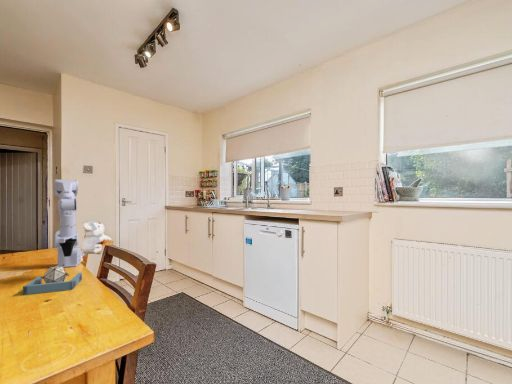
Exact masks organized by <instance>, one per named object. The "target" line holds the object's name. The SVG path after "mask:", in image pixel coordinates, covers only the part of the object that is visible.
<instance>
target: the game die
mask: <svg viewBox="0 0 512 384" xmlns="http://www.w3.org/2000/svg"><path fill="white" fill-rule="evenodd" d="M63 266H64V265H63ZM63 266H59V267H55V266H51V267H50V266H47V270H46V272H45V273H44V274H43V276H42V277H40V276H39V277H40V278H42V280H44V284H45V283H55V282H65V281H66V278H67V277H69V276H70V274H69V273H68V272H67V271H66V269H65V267H63Z"/></svg>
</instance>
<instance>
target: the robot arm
mask: <svg viewBox="0 0 512 384" xmlns="http://www.w3.org/2000/svg"><path fill="white" fill-rule="evenodd" d="M53 183H54V184H53V185H54V195H55V197H57V198H59V200H58V202H57V203H58V208H57V209H58V215H59V229H58V230H57V231H56V232H54V237H53V239H54V240H53V241H54V243H53V245H54V249H56V250H57V264H56V265H55V266H54V267H59V266H63V265H64V266H63V267H64V268H68V267H69V268H70V267H71V268H72V267H78V265H80V264H81V263H82V250H81V247H79V246H78V245H79V235H80V234H79V232H78V231H77V229H76V228H77V227H76V223H77V222H76V221H77V219H76V215H77V214H76V213H77V209H78V200H77V198H76V197H77V195H78V190H79V180H77V179H58V178H56V179H54V182H53ZM77 246H78V247H77Z"/></svg>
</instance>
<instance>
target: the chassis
mask: <svg viewBox="0 0 512 384" xmlns="http://www.w3.org/2000/svg"><path fill="white" fill-rule="evenodd" d="M40 277H43V276H37V277H35V278H34V279H33V280H31V281H30V282H28V283H26V284H25V285H23V286H22V295H23V296H28V295H35V294H46V293H53V292H62V291H71V290H74V289H75V288H76V286H78V285H79V283H81V281H82V280H83V272H78V273H77V274H75V276H73V277H72V278H71V279H70V280H64V282H55V283H45V282H44V283H43V278H40Z"/></svg>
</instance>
